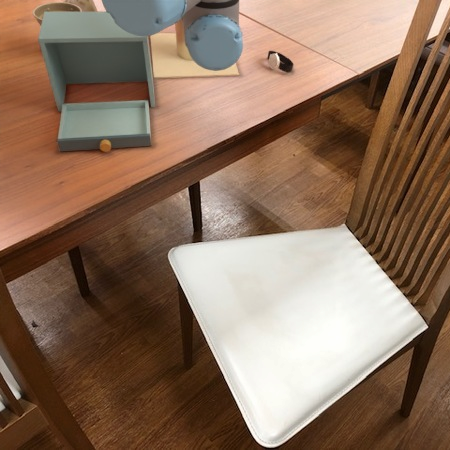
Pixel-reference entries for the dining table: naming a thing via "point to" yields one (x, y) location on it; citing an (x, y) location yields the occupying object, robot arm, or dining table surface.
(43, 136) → the dining table surface
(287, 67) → the watch
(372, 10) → the dining table surface
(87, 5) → the mug
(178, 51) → the tea tin
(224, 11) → the robot arm
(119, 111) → the drawer
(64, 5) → the flower pot
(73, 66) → the cubby
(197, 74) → the mat
